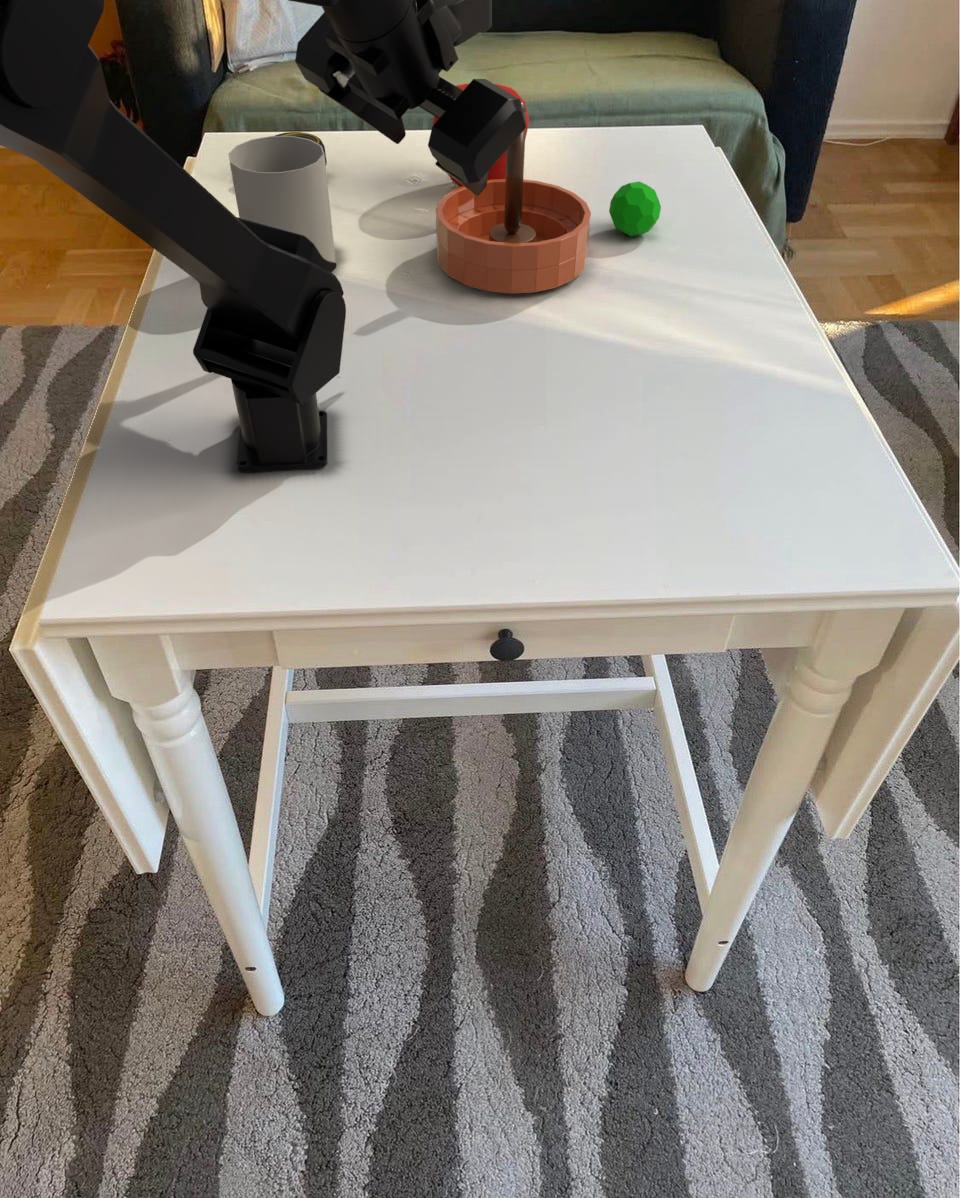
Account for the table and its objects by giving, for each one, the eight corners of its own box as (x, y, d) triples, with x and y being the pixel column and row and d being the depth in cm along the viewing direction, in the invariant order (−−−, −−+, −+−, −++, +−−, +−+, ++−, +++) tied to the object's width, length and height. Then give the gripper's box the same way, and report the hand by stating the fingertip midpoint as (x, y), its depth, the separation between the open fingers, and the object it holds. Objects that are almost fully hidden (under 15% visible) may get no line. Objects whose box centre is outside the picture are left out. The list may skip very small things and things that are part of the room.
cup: (318, 287, 88) (305, 177, 81) (234, 277, 89) (213, 168, 82) (345, 246, 93) (335, 140, 86) (266, 237, 95) (249, 132, 87)
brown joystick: (541, 252, 92) (551, 96, 82) (523, 271, 89) (531, 113, 79) (500, 242, 93) (504, 88, 83) (481, 261, 91) (483, 104, 80)
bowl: (598, 294, 87) (604, 242, 84) (444, 302, 86) (444, 249, 83) (570, 225, 97) (574, 176, 94) (431, 231, 96) (430, 181, 92)
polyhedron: (621, 247, 94) (627, 199, 91) (598, 226, 97) (603, 178, 94) (665, 239, 95) (673, 191, 92) (641, 218, 99) (648, 171, 95)
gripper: (556, -33, 59) (592, 140, 74) (354, -136, 66) (424, 42, 80) (440, 102, 59) (498, 248, 74) (249, -14, 65) (338, 142, 80)
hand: (439, 164), depth 77 cm, fingers open, 9 cm apart
